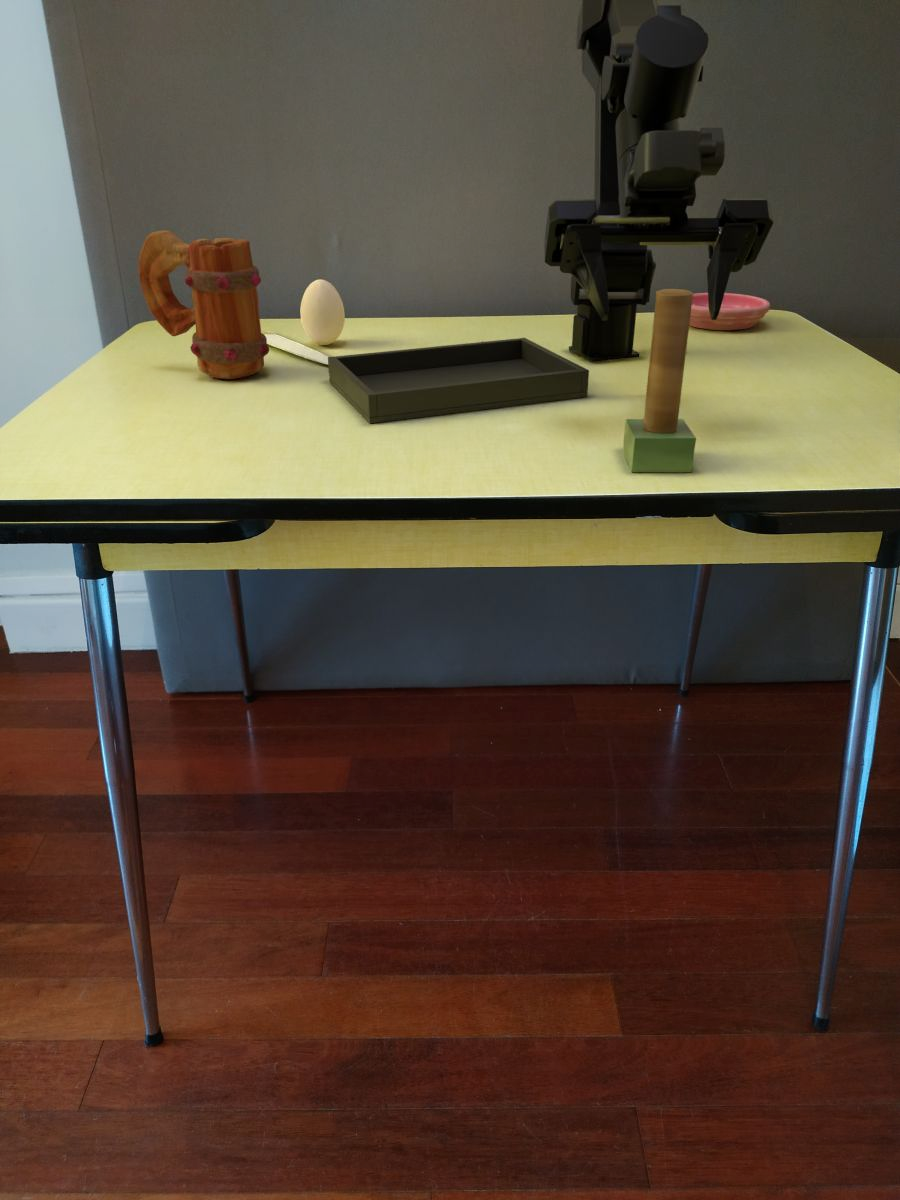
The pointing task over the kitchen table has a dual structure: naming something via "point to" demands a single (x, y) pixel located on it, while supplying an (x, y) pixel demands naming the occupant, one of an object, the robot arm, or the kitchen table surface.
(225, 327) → the mug
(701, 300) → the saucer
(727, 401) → the kitchen table surface
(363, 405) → the tray
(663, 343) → the peg on green base
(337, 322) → the egg
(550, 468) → the kitchen table surface
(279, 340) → the knife
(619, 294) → the robot arm
